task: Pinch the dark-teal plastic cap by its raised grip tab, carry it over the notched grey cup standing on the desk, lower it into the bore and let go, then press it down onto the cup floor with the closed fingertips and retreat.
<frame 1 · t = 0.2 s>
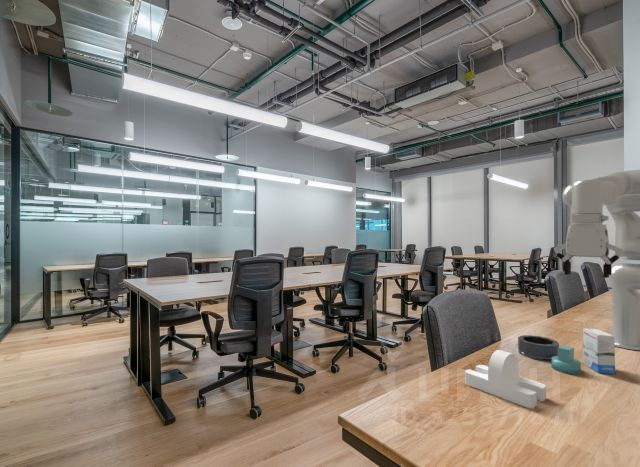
hand: (586, 275, 105), 30 cm above the table, fingers open, 9 cm apart
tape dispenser: (503, 392, 94), on the table
notched grey cup: (537, 354, 122), on the table
cap: (565, 369, 109), on the table
ink box: (598, 369, 109), on the table
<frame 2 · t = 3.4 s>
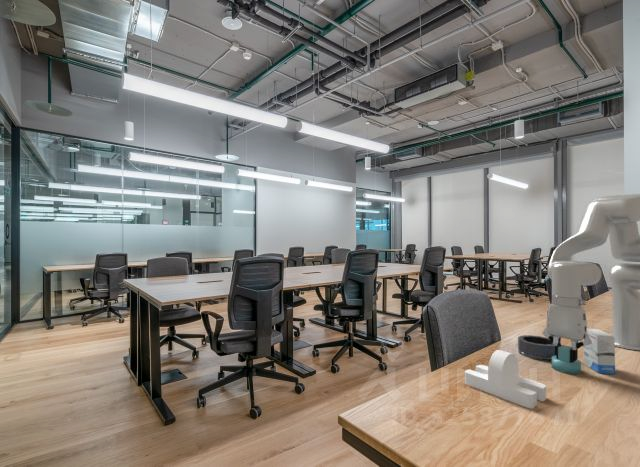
hand: (565, 359, 109), 3 cm above the table, fingers closed on cap, 3 cm apart
cap: (566, 369, 109), on the table, touching gripper
everything else where it was.
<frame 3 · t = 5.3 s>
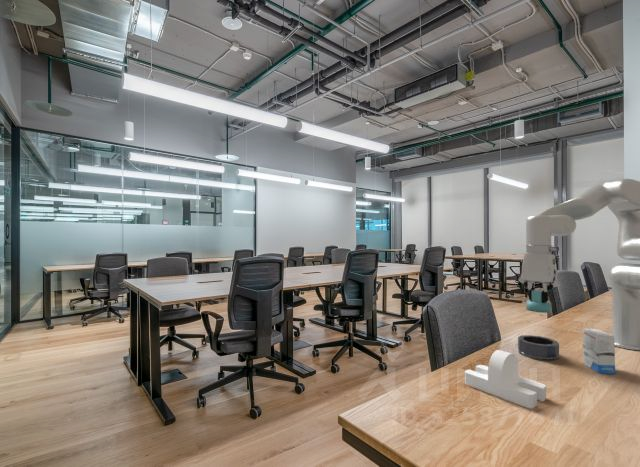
hand: (538, 301, 122), 19 cm above the table, fingers closed on cap, 3 cm apart
cap: (538, 310, 122), point 16 cm above the table, touching gripper
everything else where it was.
when the fingers open (5 cm above the table, at t = 7.5 s): cap stays where it is, resting on notched grey cup.
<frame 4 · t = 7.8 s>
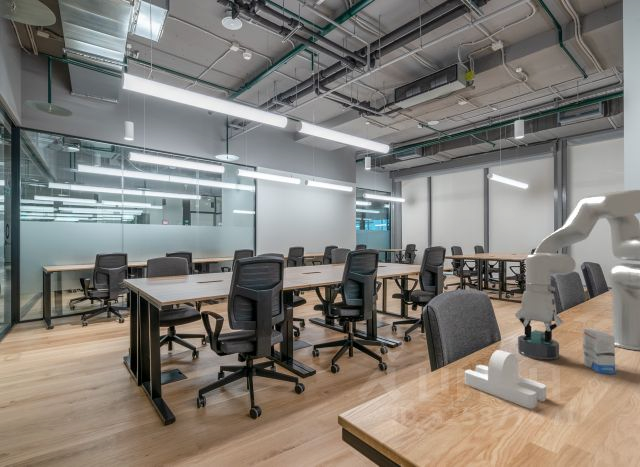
hand: (537, 338, 122), 5 cm above the table, fingers open, 5 cm apart
cap: (538, 351, 122), point 1 cm above the table, touching notched grey cup
everything else where it was.
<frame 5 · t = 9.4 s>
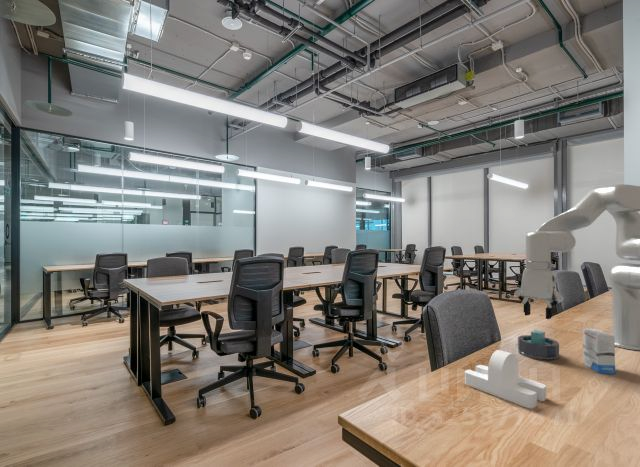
hand: (537, 316, 122), 14 cm above the table, fingers open, 6 cm apart
nothing on the table moved.
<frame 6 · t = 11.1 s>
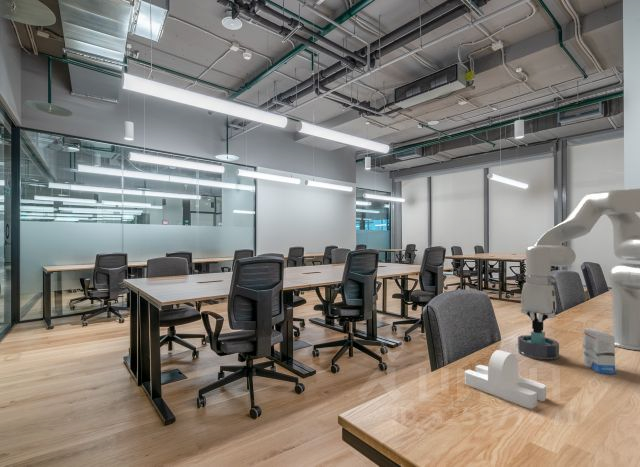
hand: (537, 331, 122), 8 cm above the table, fingers closed
cap: (538, 351, 122), point 1 cm above the table, touching notched grey cup, gripper
everything else where it was.
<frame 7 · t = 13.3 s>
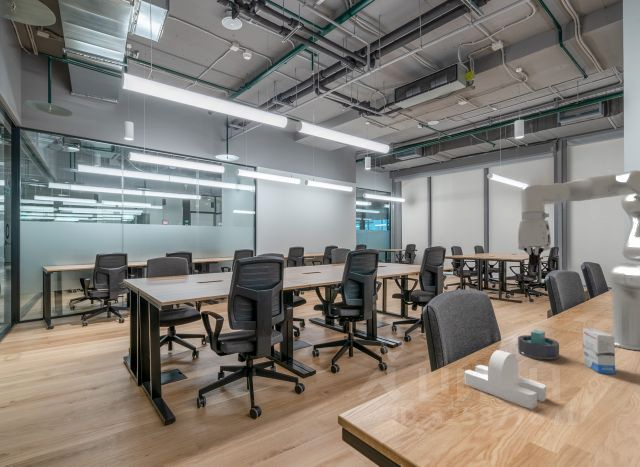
hand: (534, 265, 131), 31 cm above the table, fingers closed
cap: (538, 351, 122), point 1 cm above the table, touching notched grey cup
everything else where it was.
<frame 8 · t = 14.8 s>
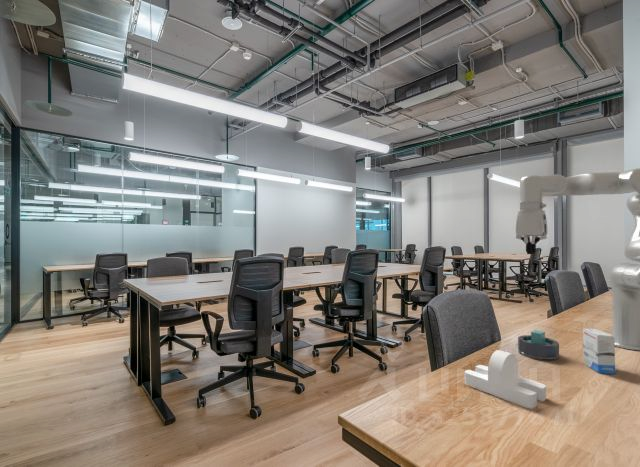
hand: (530, 253, 135), 35 cm above the table, fingers closed
nothing on the table moved.
at the end: cap 0.0 cm off-centre on the notched grey cup, point 1.0 cm above the notched grey cup's base; cap tilted 0°; the gripper is holding nothing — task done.
